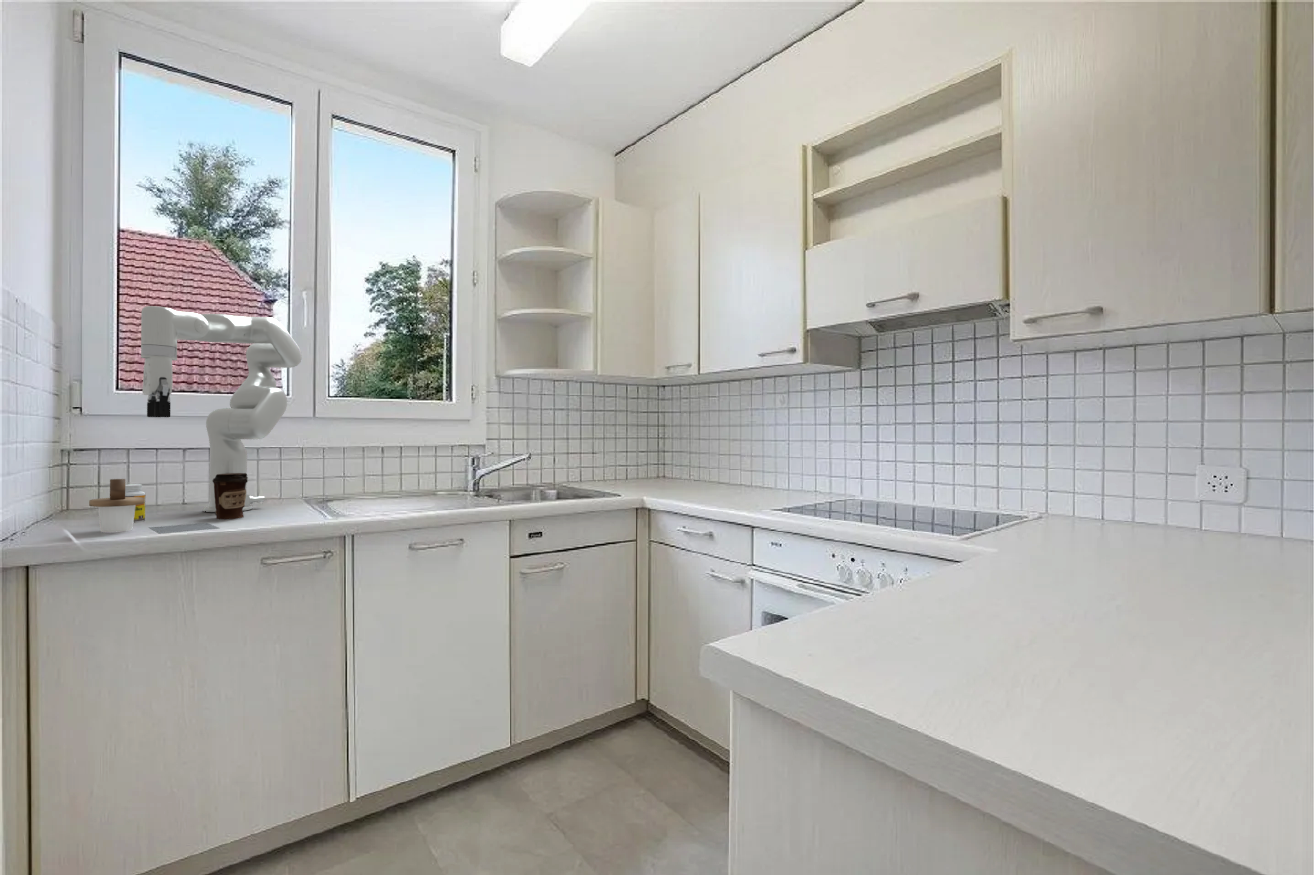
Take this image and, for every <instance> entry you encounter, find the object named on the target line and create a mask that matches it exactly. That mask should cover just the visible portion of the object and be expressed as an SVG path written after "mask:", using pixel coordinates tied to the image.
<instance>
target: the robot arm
mask: <svg viewBox="0 0 1314 875" xmlns="http://www.w3.org/2000/svg"><path fill="white" fill-rule="evenodd" d="M140 321H141V322H140V323H141V328H140V330H141V331H140V358H141V359H144V365H143V375H142V376H143V378H142V379H143V380H142V394H143V395H144V396H147V402H146V417H147V418H170V417H171V396H170V395H171V394H172V392H173V361H177V360H178V359H177V358H178V341H179V340H182V341H199V342H206V343H207V342H208V343H227V344H230V343H231V344H234V343H235V344H250V345H249V346H248V348H247V350H246V352H245V353H246V354H245V358H246V363H247V367H248V374H247V377H246V378H245V380H244V381H243V382H242V384H240V385H239V387H238V388H237V389H236V390H235V392H234V393H233V394H232V396H231V398H230V401H229V406H230V408H227V407H226V408H218V409H215V410H213V411H211V412H210V413H209V414H208V416H207V417H206V421H205V427H206V432H207V435H208V442H209V496H208V497H209V498H208V501H209V502H208V505H207V506H203V507H202V512H205V511H206V513H216V508H215V497H214V483H213V479H214V478H215V477H216V475H217V474H225V473H246V474H247V475H248V452H247V449H246V447H245V445H244V443H243V441H242V440H262V439H264V438H266V437H267V436H268V435H270V433H271V432H272V430H273V429H274V428H275V427H276V425H277V424H278V422H280V420H281V418H282V417H283V415H284V414H285V412H286V411H287V407H288V398H287V394H286V392H285V391H284V390H283V389H281V388H280V387H278V386H277V381H276V378H275V377H274V375H273V373H272V371H271V368H274V369H275V368H279V369H281V368H282V369H284V368H287V369H289V368H295V367H297V366H299V365H300V364H301V362H302V359H303V355H302V351H301V348H300V346H299V345H298V344H297V342H296V341H295V339H294V338H293V337H292V335H291V334H290V333H289V331H288V330H287V329H286V328H285V326H284V325H283V324H282V323H281V322H279V320H277V318H276V319H275V318H274V317H269V316H266V317H265V316H260V317H259V316H257V317H256V316H240V315H230V314H225V313H224V314H223V313H201V314H200V313H196V312H192V311H179V310H174V309H173V308H171V307H165V306H160V305H159V306H156V305H154V306H153V305H148V306H144V307H143V308H142V309H141V320H140ZM247 484H248V482H247V483H246V487H245V489H246V499H245V506H244V507H243V509H242V512H245V511H249V510H252V509H253V505H252V504H253V503H254V504H255V503H264V502H265V496H264V495H262V496H252V495H250V494H248V492H247V488H248V487H247V486H248V485H247Z"/></svg>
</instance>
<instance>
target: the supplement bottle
mask: <svg viewBox="0 0 1314 875" xmlns="http://www.w3.org/2000/svg"><path fill="white" fill-rule="evenodd" d="M142 490H143V484H142V483H141V484H140V483H134V484H130V483H128V484H127V483H126V484H125V497H142V498H145V500H146V498H147V497H146V492H145V491H142ZM145 521H146V501H145V502H144V504H139V505H136V506H135V513H134V521H133V523H138V522H140V523H141V522H145Z"/></svg>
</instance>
